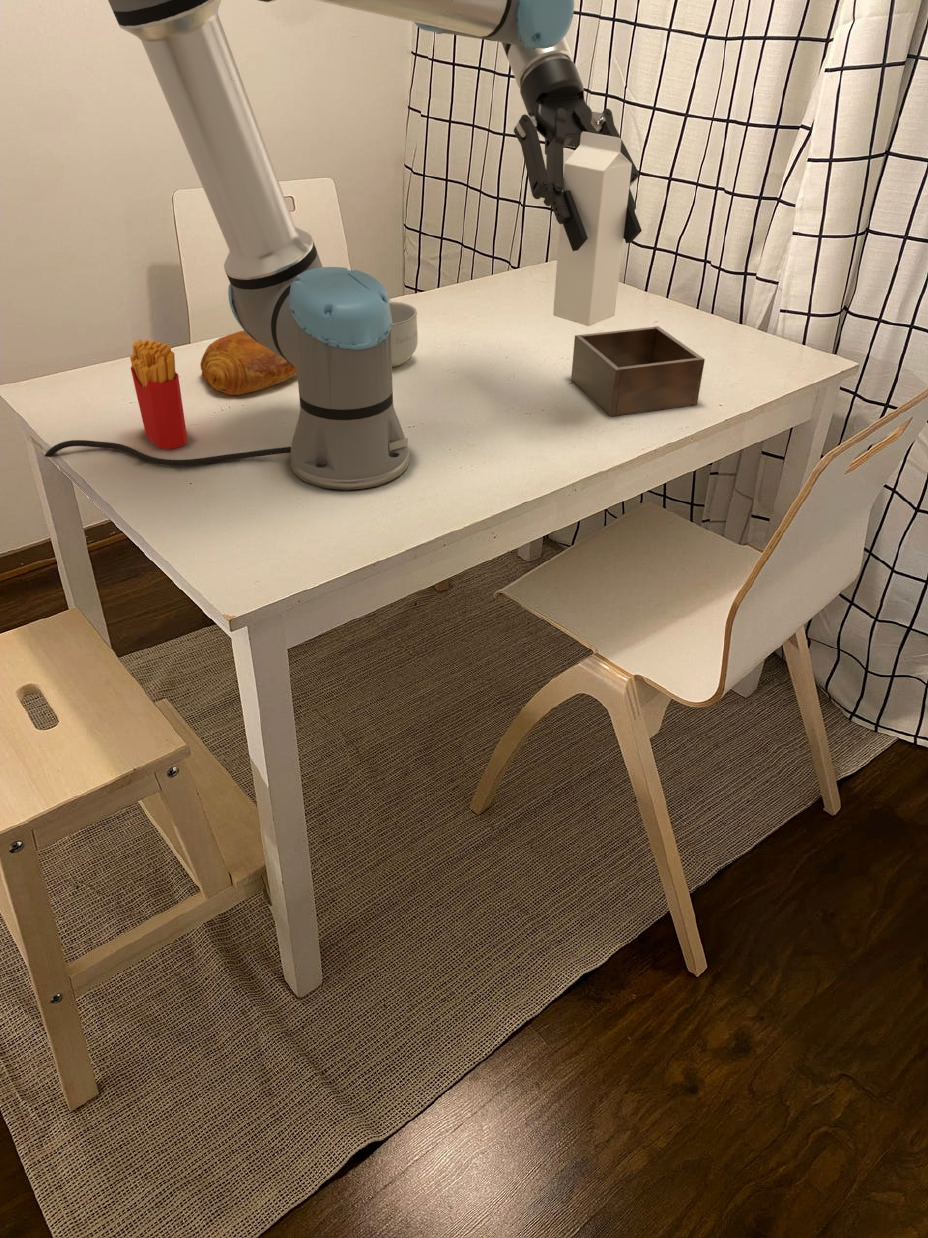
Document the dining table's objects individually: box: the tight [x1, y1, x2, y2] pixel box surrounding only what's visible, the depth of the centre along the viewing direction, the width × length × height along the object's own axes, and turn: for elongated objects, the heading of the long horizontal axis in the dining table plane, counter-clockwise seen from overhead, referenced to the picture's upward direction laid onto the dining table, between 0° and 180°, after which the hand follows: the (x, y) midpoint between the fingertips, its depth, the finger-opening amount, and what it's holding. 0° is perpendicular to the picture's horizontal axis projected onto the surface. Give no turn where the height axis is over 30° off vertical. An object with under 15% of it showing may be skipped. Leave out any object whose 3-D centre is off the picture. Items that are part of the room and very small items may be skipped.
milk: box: [552, 132, 632, 327], centre depth 122 cm, size 6×6×22 cm
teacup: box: [389, 298, 418, 368], centre depth 153 cm, size 14×11×8 cm
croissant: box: [199, 330, 297, 396], centre depth 146 cm, size 14×16×8 cm
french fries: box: [129, 338, 188, 450], centre depth 126 cm, size 9×4×13 cm, turn 39°
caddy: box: [570, 325, 705, 417], centre depth 143 cm, size 14×14×7 cm
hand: (607, 240), depth 120 cm, fingers closed on milk, 7 cm apart
